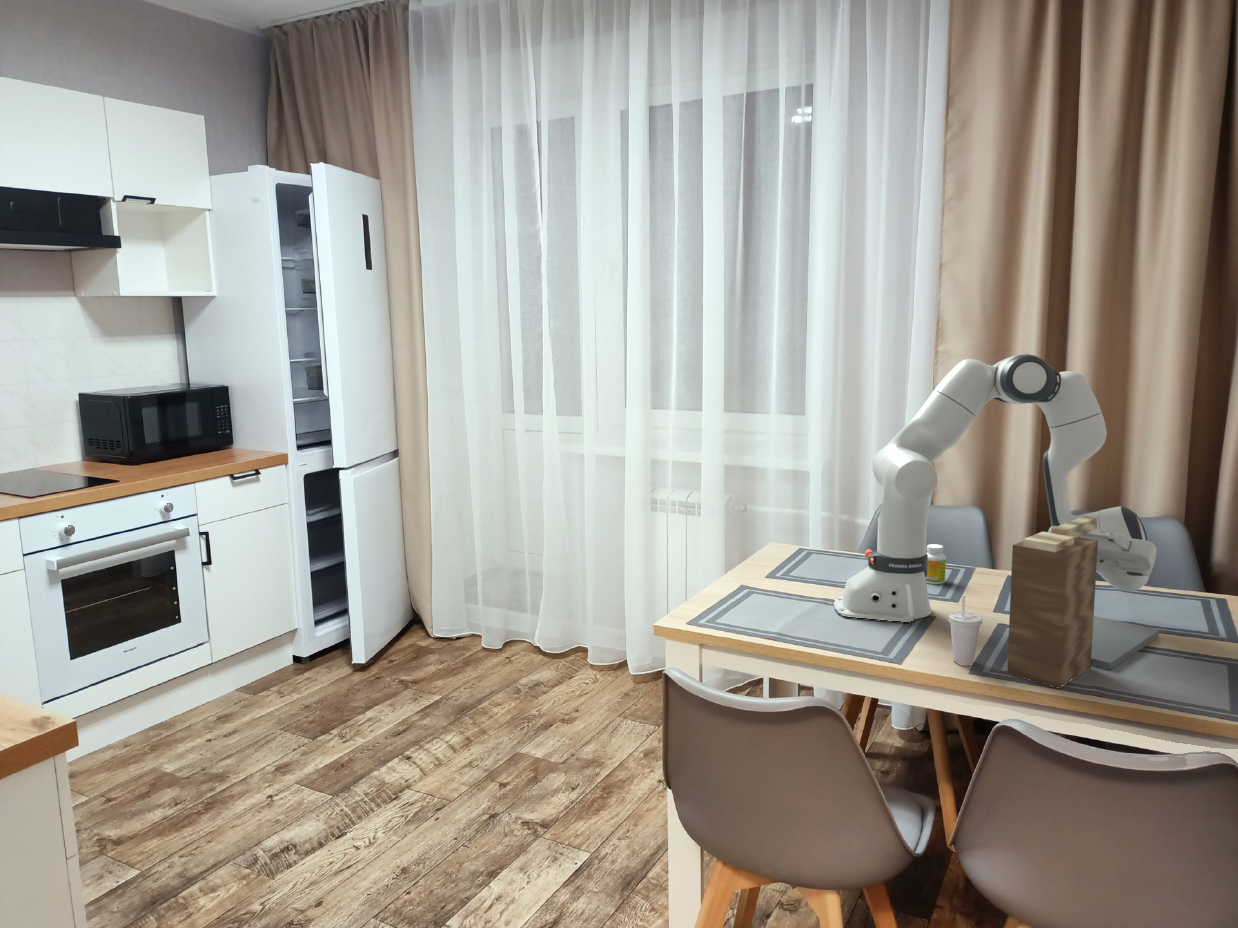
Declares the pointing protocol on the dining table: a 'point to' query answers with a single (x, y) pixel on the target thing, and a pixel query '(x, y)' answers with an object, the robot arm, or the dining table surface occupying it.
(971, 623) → the smoothie
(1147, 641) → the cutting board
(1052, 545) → the stepped light wood bar
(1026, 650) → the walnut stand
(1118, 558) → the robot arm
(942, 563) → the supplement bottle
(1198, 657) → the dining table surface
